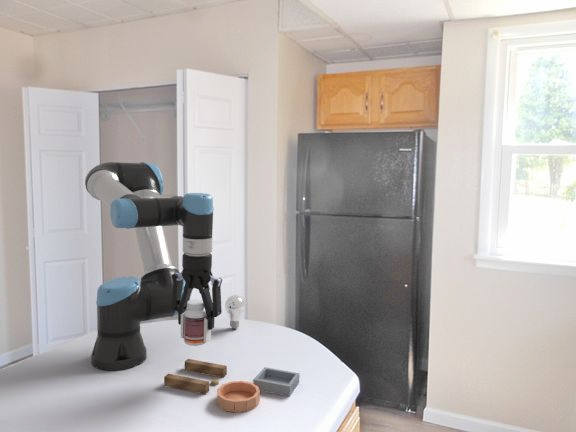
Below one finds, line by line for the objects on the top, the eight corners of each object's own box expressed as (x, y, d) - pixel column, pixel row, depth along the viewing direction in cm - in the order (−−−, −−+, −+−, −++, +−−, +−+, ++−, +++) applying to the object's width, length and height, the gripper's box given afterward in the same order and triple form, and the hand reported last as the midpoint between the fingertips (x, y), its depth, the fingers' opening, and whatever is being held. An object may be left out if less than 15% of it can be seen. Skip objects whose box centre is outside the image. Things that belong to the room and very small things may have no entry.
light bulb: (222, 331, 161) (222, 297, 160) (228, 324, 168) (228, 292, 167) (241, 333, 160) (242, 299, 159) (246, 326, 167) (247, 293, 166)
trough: (253, 389, 121) (253, 379, 121) (264, 376, 129) (264, 367, 128) (289, 396, 118) (290, 386, 118) (299, 382, 125) (299, 373, 125)
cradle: (164, 385, 121) (164, 376, 121) (188, 367, 133) (188, 358, 132) (207, 394, 117) (207, 385, 117) (228, 374, 129) (228, 366, 129)
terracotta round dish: (209, 407, 112) (209, 396, 111) (228, 388, 121) (228, 378, 121) (249, 415, 108) (249, 404, 108) (265, 395, 118) (265, 385, 118)
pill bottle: (211, 343, 124) (212, 303, 122) (189, 348, 120) (189, 307, 119) (201, 335, 129) (202, 296, 127) (180, 339, 125) (180, 300, 124)
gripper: (157, 251, 121) (156, 337, 124) (224, 260, 115) (222, 350, 118) (173, 246, 128) (172, 327, 131) (237, 254, 122) (234, 339, 125)
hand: (195, 338), depth 124 cm, fingers closed on pill bottle, 6 cm apart
